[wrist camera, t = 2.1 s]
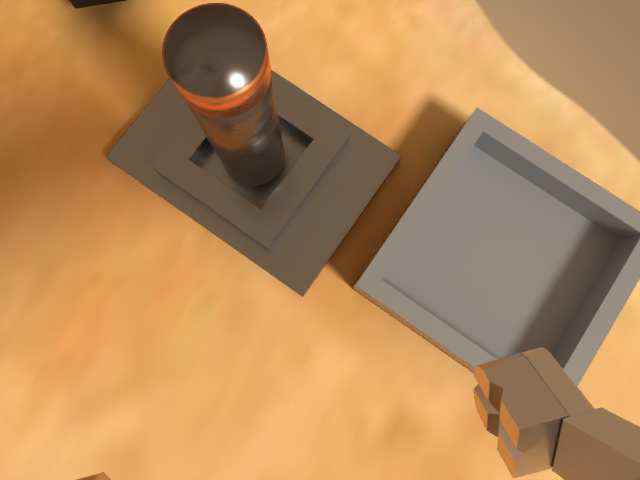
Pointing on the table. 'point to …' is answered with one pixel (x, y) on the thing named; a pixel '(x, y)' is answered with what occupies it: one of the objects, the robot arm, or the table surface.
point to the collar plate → (269, 199)
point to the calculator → (91, 2)
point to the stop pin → (228, 88)
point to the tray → (507, 254)
